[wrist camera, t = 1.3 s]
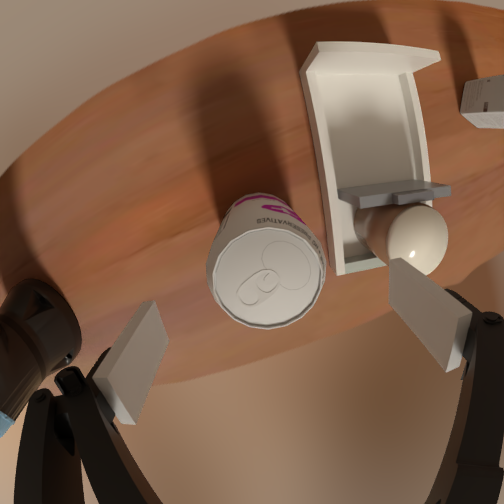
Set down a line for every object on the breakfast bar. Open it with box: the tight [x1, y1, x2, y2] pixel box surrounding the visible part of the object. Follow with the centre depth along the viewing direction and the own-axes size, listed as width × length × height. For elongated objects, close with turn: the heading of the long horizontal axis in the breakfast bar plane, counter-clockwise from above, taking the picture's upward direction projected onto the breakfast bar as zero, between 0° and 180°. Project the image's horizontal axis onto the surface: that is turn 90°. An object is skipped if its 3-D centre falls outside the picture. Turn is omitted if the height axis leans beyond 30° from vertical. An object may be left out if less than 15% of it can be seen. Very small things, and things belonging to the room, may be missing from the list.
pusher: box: [337, 179, 451, 209], centre depth 26 cm, size 10×1×8 cm, turn 100°
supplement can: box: [206, 192, 326, 329], centre depth 25 cm, size 8×8×15 cm
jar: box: [354, 202, 448, 275], centre depth 27 cm, size 7×7×9 cm
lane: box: [299, 42, 441, 276], centre depth 26 cm, size 13×23×9 cm, turn 10°
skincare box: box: [460, 75, 504, 128], centre depth 21 cm, size 6×4×12 cm
